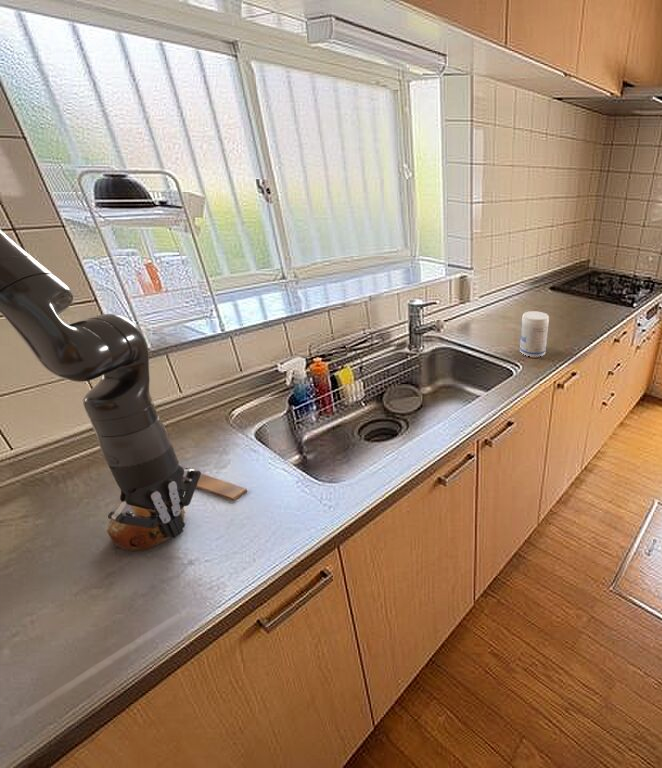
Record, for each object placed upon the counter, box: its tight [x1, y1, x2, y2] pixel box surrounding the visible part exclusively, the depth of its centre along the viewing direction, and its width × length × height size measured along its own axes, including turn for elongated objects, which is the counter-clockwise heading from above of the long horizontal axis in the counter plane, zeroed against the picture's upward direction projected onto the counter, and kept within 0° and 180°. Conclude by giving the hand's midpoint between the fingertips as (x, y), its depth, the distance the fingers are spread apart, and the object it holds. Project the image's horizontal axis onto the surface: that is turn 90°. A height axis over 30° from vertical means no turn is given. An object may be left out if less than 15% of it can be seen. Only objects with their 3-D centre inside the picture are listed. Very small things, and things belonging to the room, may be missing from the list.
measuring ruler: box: [182, 466, 248, 502], centre depth 85 cm, size 24×3×1 cm, turn 71°
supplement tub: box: [519, 310, 550, 359], centre depth 150 cm, size 10×10×15 cm
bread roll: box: [107, 506, 186, 551], centre depth 72 cm, size 10×10×8 cm
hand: (175, 533), depth 70 cm, fingers closed
